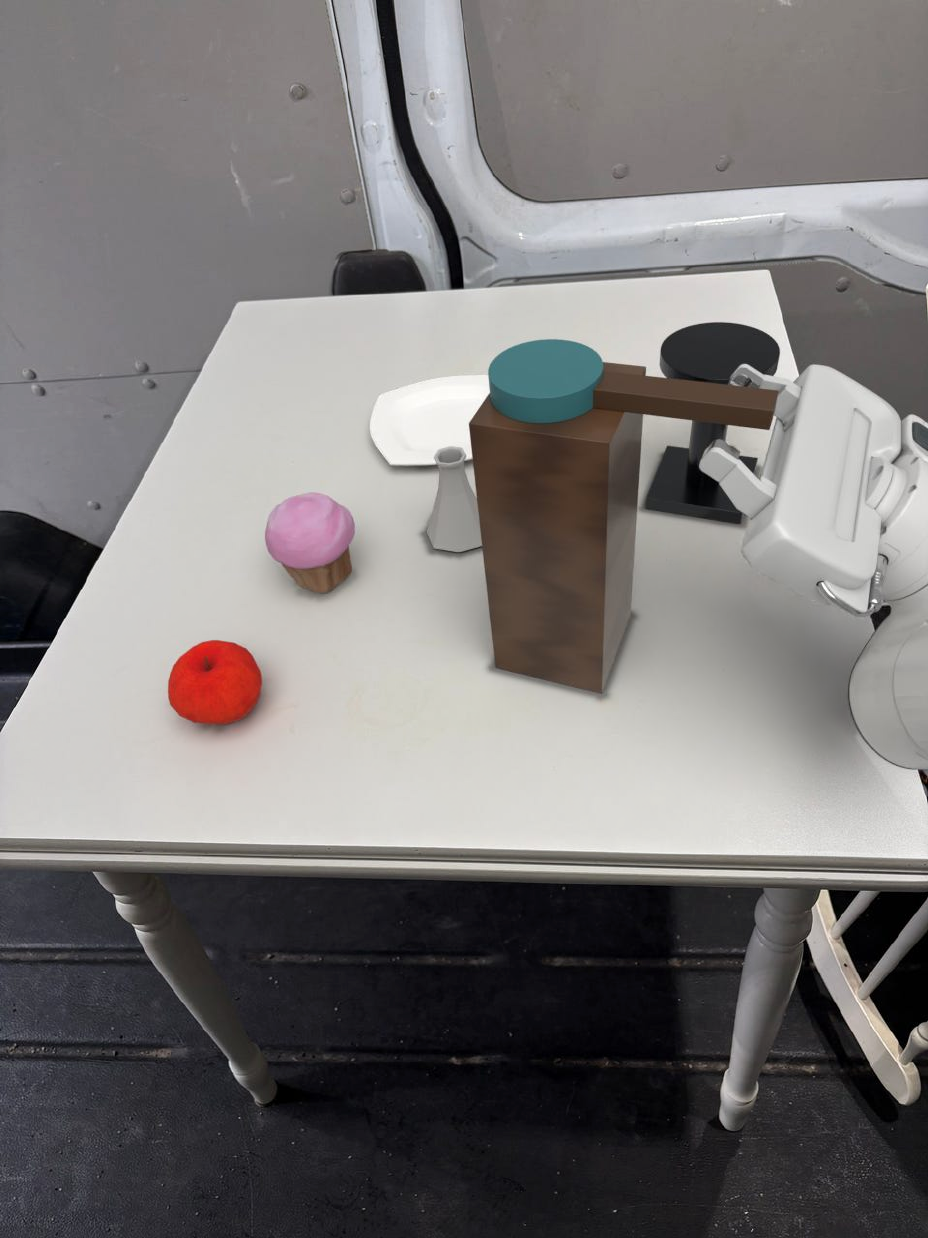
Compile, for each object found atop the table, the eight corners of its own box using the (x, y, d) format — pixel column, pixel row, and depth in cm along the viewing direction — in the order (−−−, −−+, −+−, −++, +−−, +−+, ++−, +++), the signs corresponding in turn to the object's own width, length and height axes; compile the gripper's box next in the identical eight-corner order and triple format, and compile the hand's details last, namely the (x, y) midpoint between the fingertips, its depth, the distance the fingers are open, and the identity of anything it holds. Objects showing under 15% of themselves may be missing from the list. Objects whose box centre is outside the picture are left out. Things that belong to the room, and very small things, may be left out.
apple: (184, 755, 73) (153, 703, 68) (184, 688, 78) (156, 635, 73) (275, 733, 74) (251, 679, 68) (268, 668, 79) (246, 613, 74)
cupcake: (381, 566, 88) (363, 489, 81) (332, 619, 83) (308, 543, 76) (315, 543, 91) (292, 468, 84) (264, 593, 87) (236, 518, 79)
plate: (540, 459, 98) (540, 445, 97) (378, 488, 97) (375, 474, 96) (509, 378, 111) (508, 365, 110) (366, 403, 111) (364, 389, 109)
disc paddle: (781, 388, 57) (786, 361, 56) (763, 455, 52) (768, 427, 51) (512, 358, 63) (510, 334, 62) (473, 415, 58) (471, 389, 57)
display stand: (761, 466, 93) (787, 327, 81) (744, 528, 86) (771, 385, 74) (662, 452, 97) (674, 317, 85) (639, 510, 90) (648, 372, 78)
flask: (493, 552, 87) (486, 474, 80) (425, 556, 88) (411, 479, 81) (493, 508, 93) (486, 431, 85) (428, 513, 93) (416, 437, 86)
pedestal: (630, 615, 79) (646, 366, 61) (601, 693, 73) (609, 443, 55) (530, 594, 83) (516, 352, 64) (495, 668, 76) (468, 423, 58)
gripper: (839, 653, 53) (657, 536, 52) (866, 466, 65) (720, 369, 64) (920, 602, 48) (720, 472, 47) (931, 411, 60) (774, 305, 59)
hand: (720, 411), depth 56 cm, fingers open, 8 cm apart
